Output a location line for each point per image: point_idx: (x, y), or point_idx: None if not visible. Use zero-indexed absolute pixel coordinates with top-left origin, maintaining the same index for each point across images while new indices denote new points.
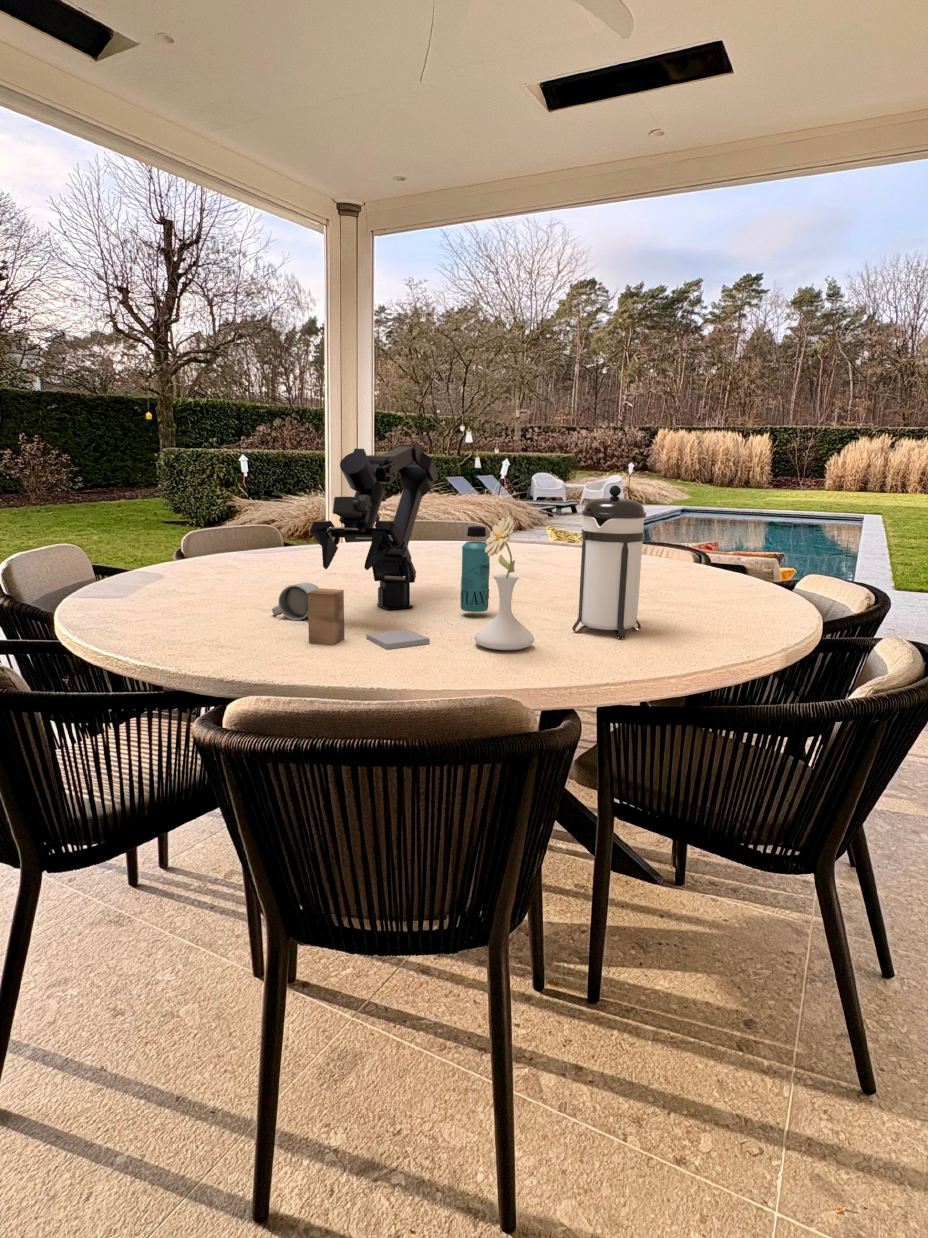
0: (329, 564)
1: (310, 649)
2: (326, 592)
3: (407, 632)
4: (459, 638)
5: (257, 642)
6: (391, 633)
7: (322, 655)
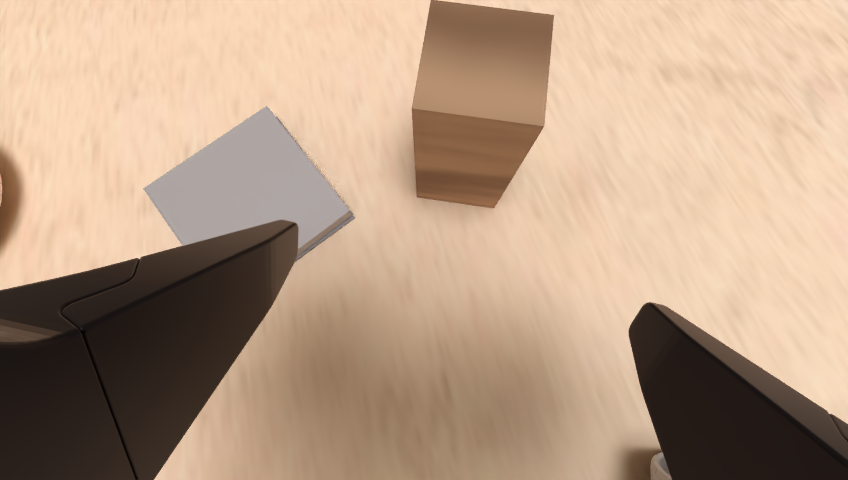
0: (642, 381)
1: None
2: (472, 38)
3: None
4: None
5: (650, 133)
6: None
7: None
